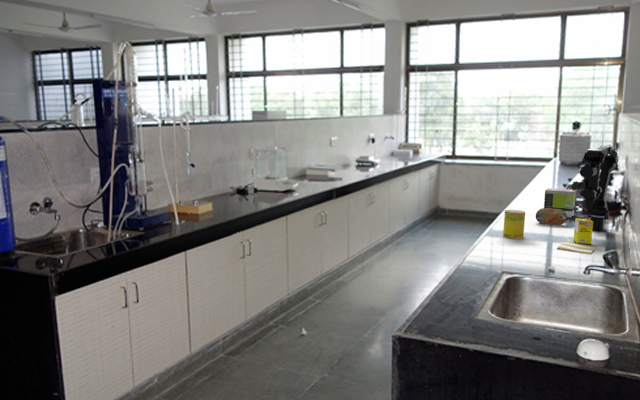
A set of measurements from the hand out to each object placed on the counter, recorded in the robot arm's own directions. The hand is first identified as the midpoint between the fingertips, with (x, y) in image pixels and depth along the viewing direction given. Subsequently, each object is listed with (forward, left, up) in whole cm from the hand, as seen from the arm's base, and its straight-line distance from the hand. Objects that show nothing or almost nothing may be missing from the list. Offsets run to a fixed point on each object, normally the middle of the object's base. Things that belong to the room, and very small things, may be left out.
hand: (589, 209), depth 245 cm
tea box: (-30, -41, -13) cm, 53 cm away
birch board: (+24, +14, -13) cm, 31 cm away
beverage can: (+33, -14, -13) cm, 38 cm away
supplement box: (+15, +9, -13) cm, 22 cm away
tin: (-6, -26, -13) cm, 30 cm away
